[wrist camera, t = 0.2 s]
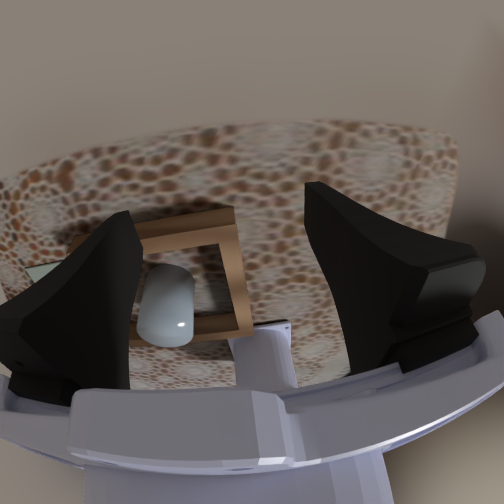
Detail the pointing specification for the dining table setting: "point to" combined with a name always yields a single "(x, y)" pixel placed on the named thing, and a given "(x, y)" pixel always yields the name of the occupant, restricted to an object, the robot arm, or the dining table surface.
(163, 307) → the grey rounded cylinder
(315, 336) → the dining table surface
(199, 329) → the wooden frame
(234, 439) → the robot arm
